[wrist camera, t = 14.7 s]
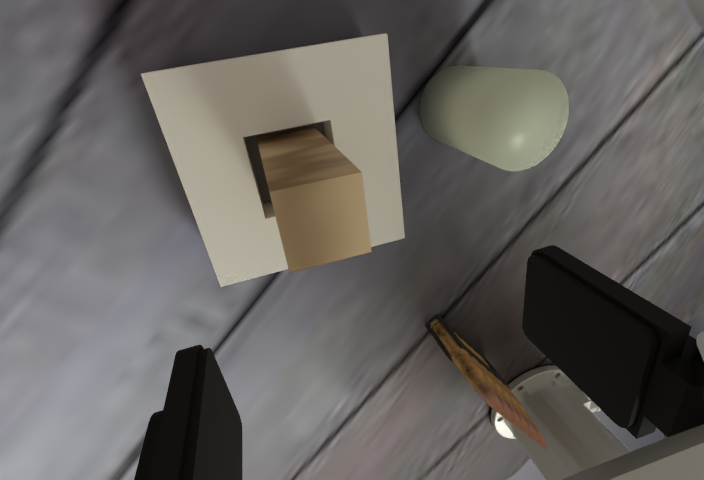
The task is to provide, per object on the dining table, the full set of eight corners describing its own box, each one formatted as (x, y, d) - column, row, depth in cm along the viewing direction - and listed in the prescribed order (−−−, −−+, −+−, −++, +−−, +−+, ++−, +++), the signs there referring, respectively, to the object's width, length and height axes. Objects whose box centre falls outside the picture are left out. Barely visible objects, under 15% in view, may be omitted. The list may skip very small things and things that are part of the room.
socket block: (363, 36, 27) (387, 33, 23) (382, 214, 33) (404, 238, 29) (157, 70, 24) (140, 73, 20) (222, 254, 31) (220, 286, 27)
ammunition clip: (484, 356, 46) (557, 445, 35) (473, 366, 46) (542, 457, 36) (437, 313, 41) (506, 402, 30) (424, 324, 41) (488, 417, 30)
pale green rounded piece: (487, 59, 30) (575, 61, 22) (485, 134, 33) (562, 160, 25) (417, 72, 29) (483, 79, 21) (421, 149, 32) (481, 180, 24)
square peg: (312, 125, 27) (361, 172, 16) (322, 179, 29) (371, 251, 18) (256, 136, 26) (269, 192, 16) (269, 190, 28) (289, 272, 17)
